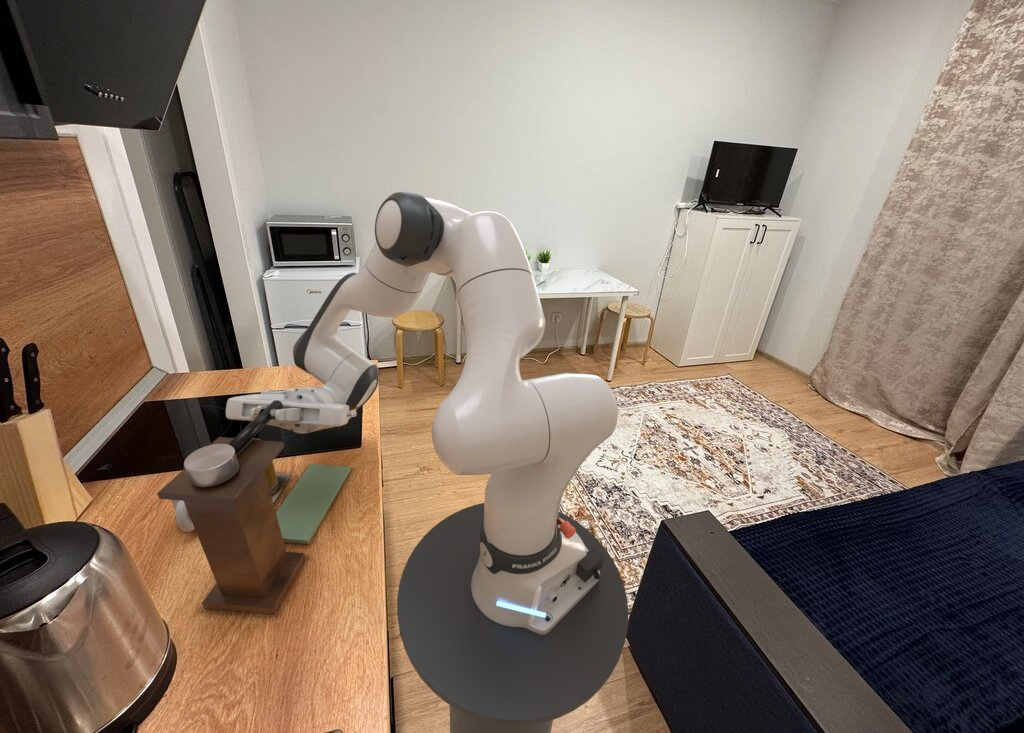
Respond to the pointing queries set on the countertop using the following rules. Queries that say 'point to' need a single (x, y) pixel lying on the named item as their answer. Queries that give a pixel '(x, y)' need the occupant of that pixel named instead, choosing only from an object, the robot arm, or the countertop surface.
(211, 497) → the stand
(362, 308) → the robot arm
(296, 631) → the countertop surface
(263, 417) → the measuring scoop
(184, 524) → the cup
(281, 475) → the condiment
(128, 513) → the countertop surface
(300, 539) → the mat
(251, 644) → the countertop surface
